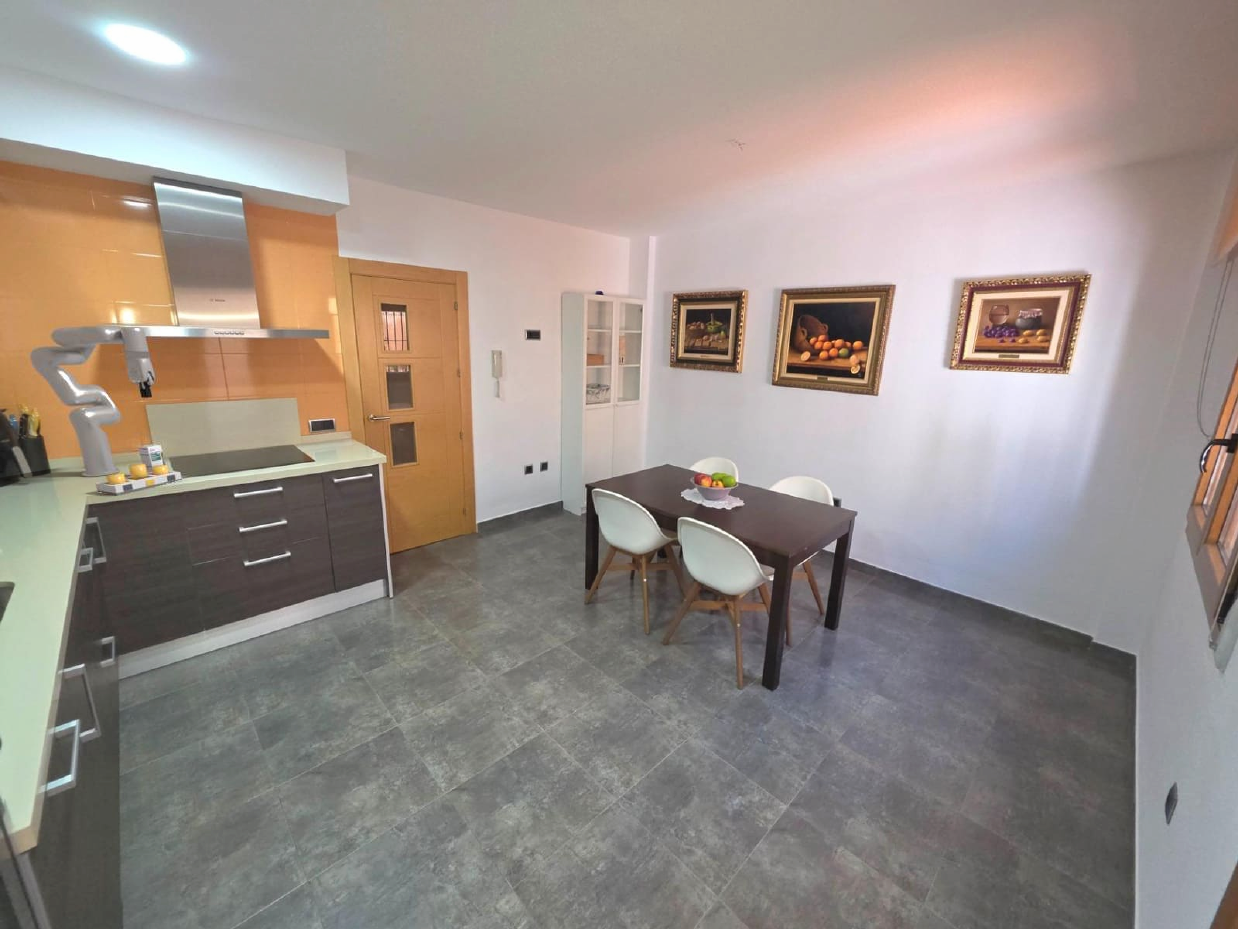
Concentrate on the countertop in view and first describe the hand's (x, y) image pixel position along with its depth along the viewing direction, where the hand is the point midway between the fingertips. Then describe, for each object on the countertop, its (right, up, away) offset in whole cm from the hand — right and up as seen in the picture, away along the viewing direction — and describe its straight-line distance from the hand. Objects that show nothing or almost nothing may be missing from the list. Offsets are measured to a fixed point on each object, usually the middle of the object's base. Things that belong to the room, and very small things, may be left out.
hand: (146, 397), depth 221 cm
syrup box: (-5, -36, +10) cm, 38 cm away
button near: (+2, -41, -14) cm, 43 cm away
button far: (+6, -37, +1) cm, 38 cm away
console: (+4, -40, -6) cm, 41 cm away
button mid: (+4, -36, -7) cm, 37 cm away
